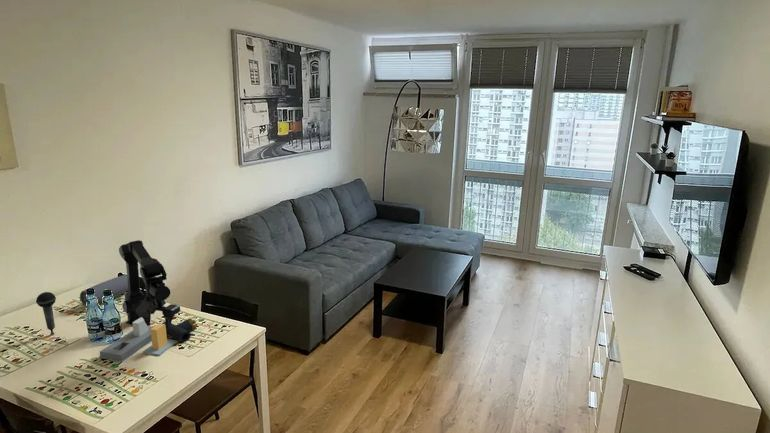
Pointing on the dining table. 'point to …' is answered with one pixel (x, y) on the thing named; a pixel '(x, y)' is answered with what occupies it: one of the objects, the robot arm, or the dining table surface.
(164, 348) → the slate mat
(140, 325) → the grey plug
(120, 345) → the header
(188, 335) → the pipe connector
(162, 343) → the tan rectangular block
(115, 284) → the bluetooth speaker
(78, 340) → the dining table surface
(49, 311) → the microphone
